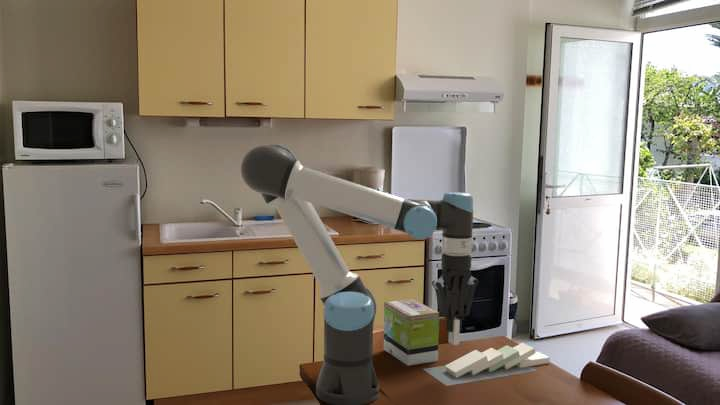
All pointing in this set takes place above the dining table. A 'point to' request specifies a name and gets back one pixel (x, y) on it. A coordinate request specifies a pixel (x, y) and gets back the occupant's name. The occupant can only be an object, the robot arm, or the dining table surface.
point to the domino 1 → (466, 363)
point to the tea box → (411, 331)
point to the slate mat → (449, 379)
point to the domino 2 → (492, 358)
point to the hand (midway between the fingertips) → (453, 343)
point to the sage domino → (505, 357)
